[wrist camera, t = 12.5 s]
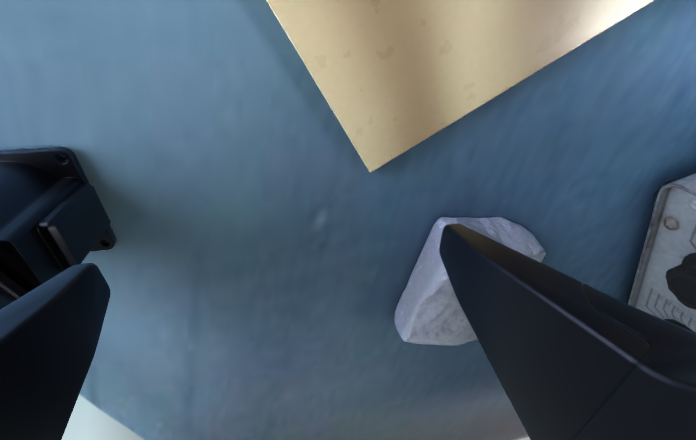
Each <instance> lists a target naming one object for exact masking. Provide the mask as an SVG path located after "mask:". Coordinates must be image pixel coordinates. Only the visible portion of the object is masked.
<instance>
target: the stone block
mask: <svg viewBox="0 0 696 440" xmlns="http://www.w3.org/2000/svg"><path fill="white" fill-rule="evenodd" d="M454 223H460V224H462V225H464V226H466V227H468V228H470V229H472V230H474V231H476V232H478V233H480V234H483V235H485V236H487V237H489V238H491V239H493V240H495V241H497V242H499V243H501V244H503V245H505V246H507V247H509V248H511V249H514V250H516V251H518V252H520V253H522V254H524V255H526V256H528V257H530V258H532V259H534V260H536V261H538V262H540V263H541V261H542V260H543V258H544V257H545V255H546V252H545V250H544V249H543V247H542V246H541V245H540V243H539V241H538V240H537V239H536V238H535V237H534V235H533V234H532V233H531V232H529V231H528V230H527V229H525V228H524V227H523V226H521V225H519V224H515V223H513V222H511V221H508V220H507V219H504V218H502V217H491V218H470V217H461V218H460V217H456V218H451V217H441V218H439V219H438V220H437V221H436V222H435V224H434V225H433V227H432V230H431V232H430V234H429V236H428V238H427V240H426V242H425V245H424V247H423V249H422V251H421V253H420V255H419V257H418V260H417V263H416V265H415V267H414V269H413V271H412V273H411V276H410V278H409V281H408V284H407V286H406V289H405V290H404V291H403V293H402V296H401V298H400V300H399V302H398V305H397V308H396V310H395V314H394V323H395V326H396V329H397V331H398V333H399V334H400V336H401V338H402V340H403V341H405V342H410V343H419V344H433V345H451V346H452V345H462V344H464V343H467V342H469V341H475V340H477V339H478V338H477V336H476V335H475V333H474V331H473V329H472V327H471V325H470V323H469V321H468V319H467V317H466V315H465V314H464V312H463V310H462V308H461V306H460V304H459V302H458V300H457V297H456V295H455V293H454V290H453V288H452V285H451V282H450V280H449V277H448V275H447V272H446V269H445V267H444V264H443V262H442V259H441V257H440V253H439V246H440V241H441V236H442V231H443V228H444V226H445V225H446V224H454Z"/></svg>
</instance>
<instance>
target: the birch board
mask: <svg viewBox="0 0 696 440" xmlns="http://www.w3.org/2000/svg"><path fill="white" fill-rule="evenodd" d="M266 1H267V3H268V4H269V6H270V8H271V9H272V11H273V13H274V14H275V16H276V18H277V19H278V21H279V23H280V24H281V26H282V27H283V29H284V31H285V32H286V34H287V36H288V37H289V39H290V41H291V42H292V44H293V46H294V47H295V49H296V51H297V52H298V54H299V56H300V57H301V59H302V61H303V62H304V64H305V66H306V67H307V69H308V71H309V72H310V74H311V76H312V77H313V79H314V81H315V82H316V84H317V86H318V87H319V89H320V91H321V92H322V94H323V96H324V97H325V99H326V101H327V102H328V104H329V106H330V107H331V109H332V111H333V112H334V114H335V116H336V117H337V119H338V121H339V122H340V124H341V126H342V127H343V129H344V130H345V132H346V134H347V135H348V137H349V139H350V140H351V142H352V144H353V145H354V147H355V149H356V150H357V152H358V154H359V155H360V157H361V159H362V160H363V162H364V164H365V165H366V167H367V169H368V170H369V172H373V171H374V170H376V169H377V168H379V167H381V166H382V165H384V164H386V163H387V162H389V161H391V160H392V159H394V158H396V157H397V156H399V155H401V154H402V153H404V152H405V151H407V150H409V149H410V148H412V147H414V146H415V145H417V144H419V143H420V142H422V141H424V140H425V139H427V138H429V137H430V136H432V135H434V134H435V133H437V132H438V131H440V130H442V129H443V128H445V127H447V126H448V125H450V124H452V123H453V122H455V121H457V120H458V119H460V118H462V117H463V116H465V115H467V114H468V113H470V112H471V111H473V110H475V109H476V108H478V107H480V106H481V105H483V104H485V103H486V102H488V101H490V100H491V99H493V98H495V97H496V96H498V95H499V94H501V93H503V92H504V91H506V90H508V89H509V88H511V87H513V86H514V85H516V84H518V83H519V82H521V81H523V80H524V79H526V78H528V77H529V76H531V75H532V74H534V73H536V72H537V71H539V70H541V69H542V68H544V67H546V66H547V65H549V64H551V63H552V62H554V61H556V60H557V59H559V58H561V57H562V56H564V55H565V54H567V53H569V52H570V51H572V50H574V49H575V48H577V47H579V46H580V45H582V44H584V43H585V42H587V41H589V40H590V39H592V38H593V37H595V36H597V35H598V34H600V33H602V32H603V31H605V30H607V29H608V28H610V27H612V26H613V25H615V24H617V23H618V22H620V21H622V20H623V19H625V18H626V17H628V16H630V15H631V14H633V13H635V12H636V11H638V10H640V9H641V8H643V7H645V6H646V5H648V4H650V3H651V2H653V1H655V0H266Z"/></svg>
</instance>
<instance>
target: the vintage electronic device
mask: <svg viewBox="0 0 696 440" xmlns="http://www.w3.org/2000/svg"><path fill="white" fill-rule="evenodd" d="M654 202H655V206H654V210H653V214H652V217H651V221H650V225H649V228H648V232H647V235H646V239H645V243H644V246H643V250H642V254H641V257H640V261H639V265H638V268H637V272H636V276H635V279H634V283H633V287H632V290H631V294H630V297H629V301H628V305H631V306H633V307H635V308H637V309H640V310H642V311H644V312H647V313H649V314H651V315H654V316H656V317H658V318H661V319H663V320H665V321H668V322H670V323H672V324H675V325H677V326H679V327H682V328H684V329H687V330H689V331H691V332H694V333H696V173H695V174H692V175H690V176H687V177H685V178H682V179H680V180H675V179H674V180H671V181H668V182H665V183H664V184H663V185H662V186H660V187H659V188H658V190H657V191H656V192H655V194H654Z"/></svg>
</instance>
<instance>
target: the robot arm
mask: <svg viewBox="0 0 696 440" xmlns="http://www.w3.org/2000/svg"><path fill="white" fill-rule="evenodd" d="M59 155H63V156H64V157H65V158H66V159H67V161H65V160H63V159H61V158H60V156H59ZM109 224H110V220H109V218H108V216H107V214H106V212H105V210H104V208H103V206H102V204H101V202H100V199H99V197H98V195H97V193H96V191H95V189H94V187H93V186H91V185H90V184H89V182H88V180H87V178H86V176H85V174H84V172H83V170H82V168H81V166H80V163H79V161H78V159H77V157H76V155H75V154H74V153H73V152H72V151H71V150H69V149H67V148H63V147H57V148H40V149H23V150H6V151H0V440H61V439H62V436H63V434H64V431H65V429H66V426H67V423H68V421H69V418H70V416H71V413H72V411H73V408H74V406H75V403H76V400H77V398H78V395H79V393H80V390H81V388H82V385H83V383H84V380H85V378H86V375H87V373H88V370H89V367H90V365H91V362H92V359H93V357H94V354H95V351H96V347H97V344H98V340H99V336H100V333H101V329H102V325H103V321H104V317H105V314H106V310H107V306H108V302H109V298H110V288H109V286H108V284H107V282H106V280H105V279H104V277H103V275H102V273H101V271H100V270H99V268H98V267H97V265H95V264H93V263H87V264H81V263H82V261H83V260H84V258H85V257H86V256H87V254H88V253H89V252H90V251H99V250H108V249H111V248H113V247H114V245H115V244H116V242H117V240H116V237H115V235H114V233H113V231H112V229H111V227H110V225H109ZM104 240H107V241H108V242H109V243H108V242H105V241H104ZM439 253H440V257H441V259H442V262H443V264H444V267H445V269H446V272H447V275H448V277H449V280H450V282H451V285H452V288H453V290H454V293H455V295H456V297H457V300H458V302H459V304H460V306H461V308H462V310H463V312H464V314H465V315H466V317H467V319H468V321H469V323H470V325H471V327H472V329H473V331H474V333H475V335H476V336H477V338H478V340H479V342H480V344H481V346H482V348H483V350H484V352H485V354H486V355H487V357H488V359H489V361H490V363H491V365H492V367H493V369H494V371H495V373H496V375H497V376H498V378H499V380H500V382H501V384H502V386H503V388H504V390H505V392H506V394H507V396H508V397H509V399H510V401H511V403H512V405H513V407H514V409H515V411H516V413H517V415H518V416H519V418H520V420H521V422H522V424H523V426H524V428H525V430H526V432H527V434H528V436H529V437H530V439H531V440H696V333H694V332H691V331H689V330H687V329H684V328H682V327H679V326H677V325H675V324H672V323H670V322H668V321H665V320H663V319H661V318H658V317H656V316H654V315H651V314H649V313H647V312H644V311H642V310H640V309H637V308H635V307H633V306H631V305H628V304H626V303H624V302H622V301H619V300H617V299H615V298H613V297H611V296H609V295H607V294H605V293H602V292H600V291H598V290H596V289H594V288H592V287H590V286H588V285H586V284H583V285H582V283H581V282H580V281H578V280H575V279H573V278H571V277H569V276H567V275H565V274H563V273H561V272H559V271H557V270H555V269H553V268H551V267H549V266H547V265H544V264H542V263H540V262H538V261H536V260H534V259H532V258H530V257H528V256H526V255H524V254H522V253H520V252H518V251H516V250H514V249H511V248H509V247H507V246H505V245H503V244H501V243H499V242H497V241H495V240H493V239H491V238H489V237H487V236H485V235H483V234H480V233H478V232H476V231H474V230H472V229H470V228H468V227H466V226H464V225H462V224H460V223H454V224H446V225H445V226H444V228H443V231H442V236H441V241H440V246H439Z"/></svg>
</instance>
